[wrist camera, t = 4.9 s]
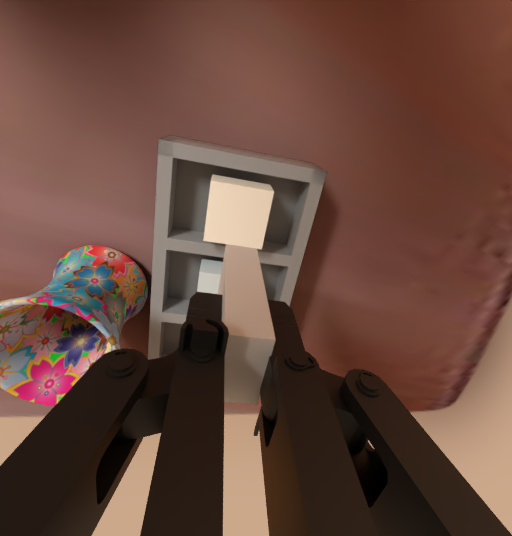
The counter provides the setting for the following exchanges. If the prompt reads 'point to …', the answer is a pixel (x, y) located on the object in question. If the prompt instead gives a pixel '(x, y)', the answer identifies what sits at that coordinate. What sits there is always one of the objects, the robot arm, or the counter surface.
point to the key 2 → (237, 212)
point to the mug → (68, 322)
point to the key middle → (209, 276)
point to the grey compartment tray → (194, 218)
